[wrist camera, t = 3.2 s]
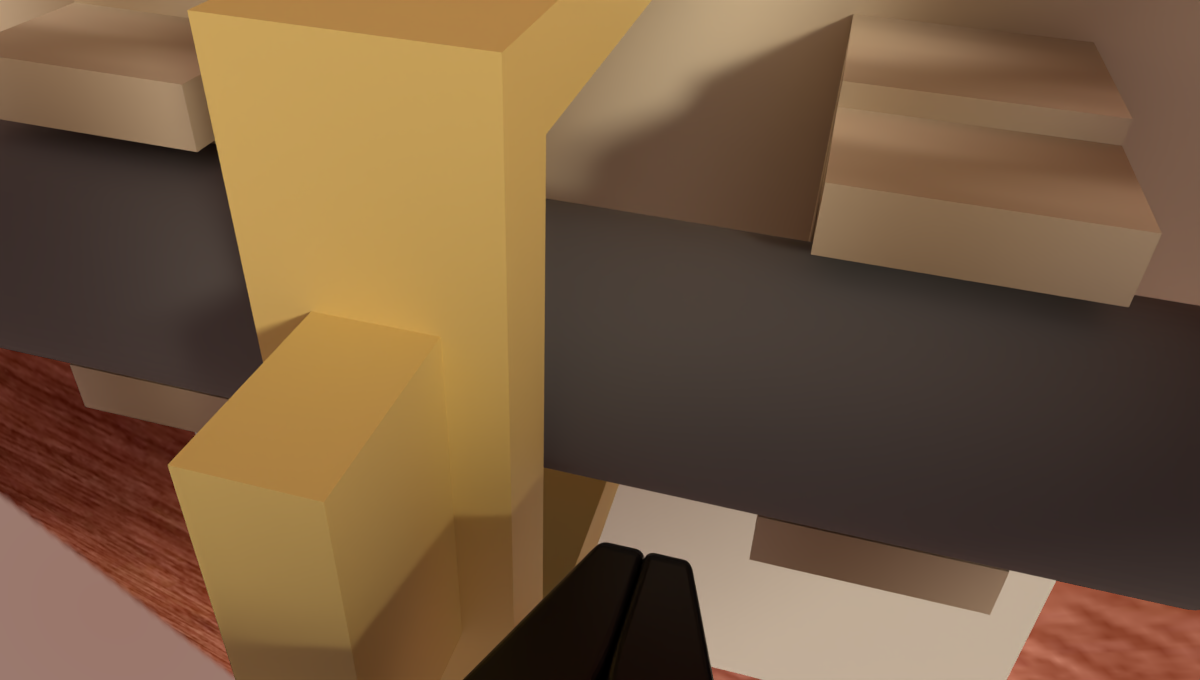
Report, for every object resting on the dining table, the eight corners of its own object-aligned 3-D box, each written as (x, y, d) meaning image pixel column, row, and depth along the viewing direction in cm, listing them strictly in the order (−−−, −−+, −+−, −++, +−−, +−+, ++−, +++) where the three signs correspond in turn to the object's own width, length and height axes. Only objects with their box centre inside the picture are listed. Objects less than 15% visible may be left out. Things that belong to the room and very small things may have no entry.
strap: (689, -123, 12) (366, 179, 5) (641, 420, 17) (455, 943, 10) (508, -140, 12) (-33, 111, 5) (516, 395, 17) (254, 877, 10)
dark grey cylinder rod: (1391, 283, 10) (1555, 485, 8) (1257, 494, 12) (1351, 713, 9) (-87, 54, 14) (-312, 140, 11) (-12, 244, 16) (-190, 355, 13)
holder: (1481, -220, 10) (1878, -146, 6) (1090, 543, 17) (1147, 818, 13) (-182, -326, 14) (-628, -327, 10) (56, 324, 21) (-148, 480, 17)
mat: (1070, 518, 17) (1074, 542, 16) (977, 709, 20) (979, 734, 20) (188, 334, 20) (171, 350, 20) (239, 526, 24) (226, 543, 23)
